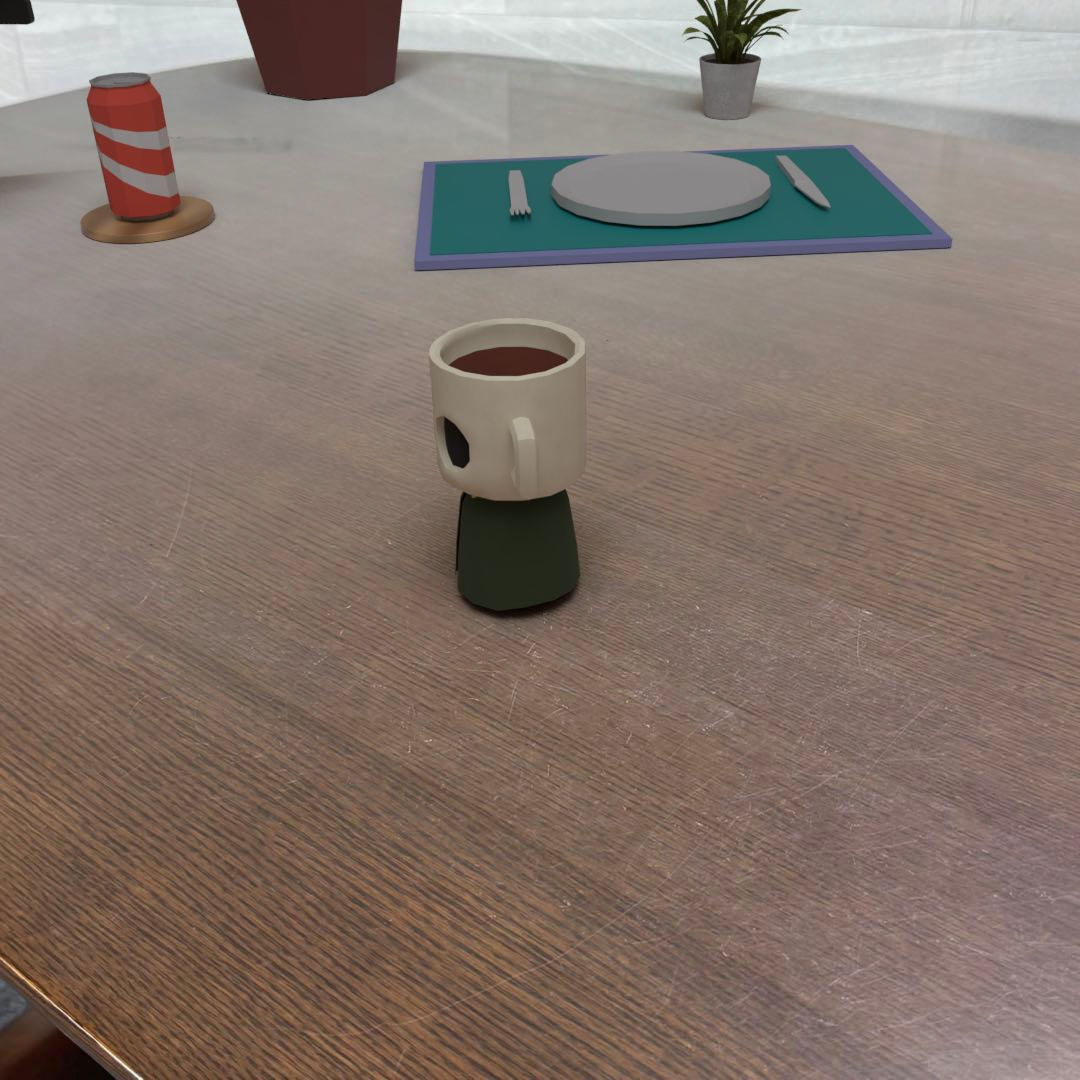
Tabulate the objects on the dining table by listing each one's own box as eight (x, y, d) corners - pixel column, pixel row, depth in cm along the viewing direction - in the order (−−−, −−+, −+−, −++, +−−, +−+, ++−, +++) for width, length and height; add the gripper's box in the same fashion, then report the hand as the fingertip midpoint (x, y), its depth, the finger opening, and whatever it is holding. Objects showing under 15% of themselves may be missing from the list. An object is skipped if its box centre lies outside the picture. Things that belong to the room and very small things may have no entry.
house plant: (697, 137, 133) (705, -24, 124) (638, 111, 144) (641, -39, 135) (805, 121, 138) (820, -35, 129) (740, 97, 148) (750, -49, 140)
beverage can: (179, 221, 110) (153, 83, 103) (107, 226, 109) (76, 88, 103) (185, 201, 115) (160, 69, 108) (116, 206, 114) (87, 73, 108)
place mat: (415, 270, 100) (413, 243, 98) (424, 169, 125) (422, 146, 124) (951, 247, 101) (955, 220, 100) (851, 152, 127) (854, 129, 125)
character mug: (438, 535, 65) (418, 308, 58) (567, 522, 66) (564, 296, 59) (458, 659, 56) (439, 407, 49) (609, 641, 57) (610, 391, 50)
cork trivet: (76, 249, 106) (74, 240, 106) (87, 209, 116) (86, 201, 116) (214, 236, 108) (213, 227, 108) (214, 198, 118) (213, 190, 118)
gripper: (-94, 47, 115) (58, 49, 112) (-200, 79, 104) (-34, 81, 101) (-120, -39, 111) (37, -40, 108) (-233, -16, 100) (-61, -16, 97)
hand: (3, 18), depth 104 cm, fingers open, 8 cm apart
